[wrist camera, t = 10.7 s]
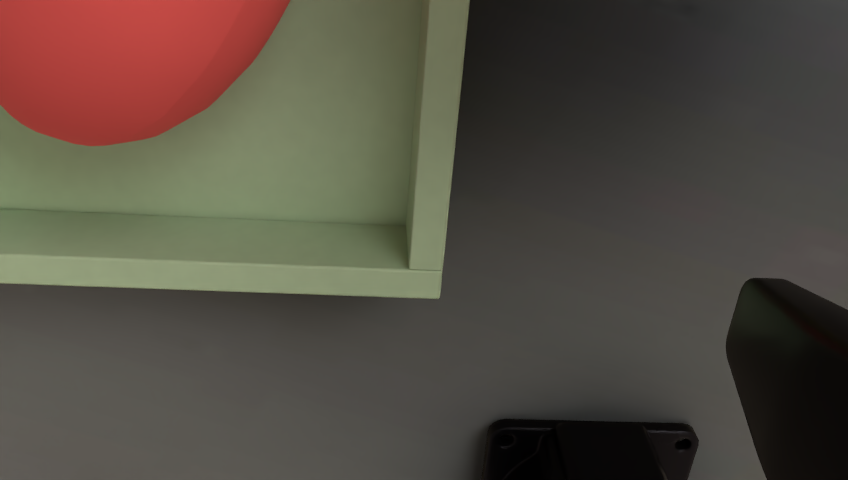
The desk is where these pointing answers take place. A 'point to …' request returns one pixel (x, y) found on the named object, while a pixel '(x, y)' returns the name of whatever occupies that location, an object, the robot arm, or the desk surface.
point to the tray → (264, 170)
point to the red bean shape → (124, 62)
